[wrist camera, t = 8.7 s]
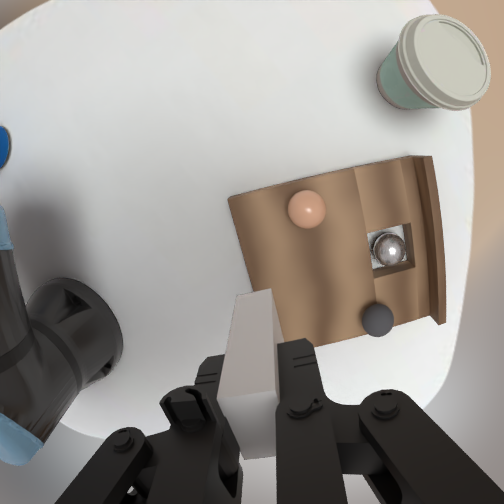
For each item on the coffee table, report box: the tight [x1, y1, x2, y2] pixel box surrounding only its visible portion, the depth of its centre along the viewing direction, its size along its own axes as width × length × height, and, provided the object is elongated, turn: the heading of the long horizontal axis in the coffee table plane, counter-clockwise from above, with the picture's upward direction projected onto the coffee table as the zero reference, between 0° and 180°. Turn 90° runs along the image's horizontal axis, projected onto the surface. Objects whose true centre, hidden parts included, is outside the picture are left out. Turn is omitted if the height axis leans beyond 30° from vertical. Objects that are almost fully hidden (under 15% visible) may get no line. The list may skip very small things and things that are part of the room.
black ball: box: [362, 304, 394, 337], centre depth 31 cm, size 4×4×4 cm
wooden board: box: [227, 156, 446, 347], centre depth 32 cm, size 20×18×5 cm
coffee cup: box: [377, 14, 491, 111], centre depth 23 cm, size 8×9×12 cm
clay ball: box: [288, 190, 326, 229], centre depth 29 cm, size 4×4×4 cm
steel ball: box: [373, 233, 405, 266], centre depth 32 cm, size 4×4×4 cm
